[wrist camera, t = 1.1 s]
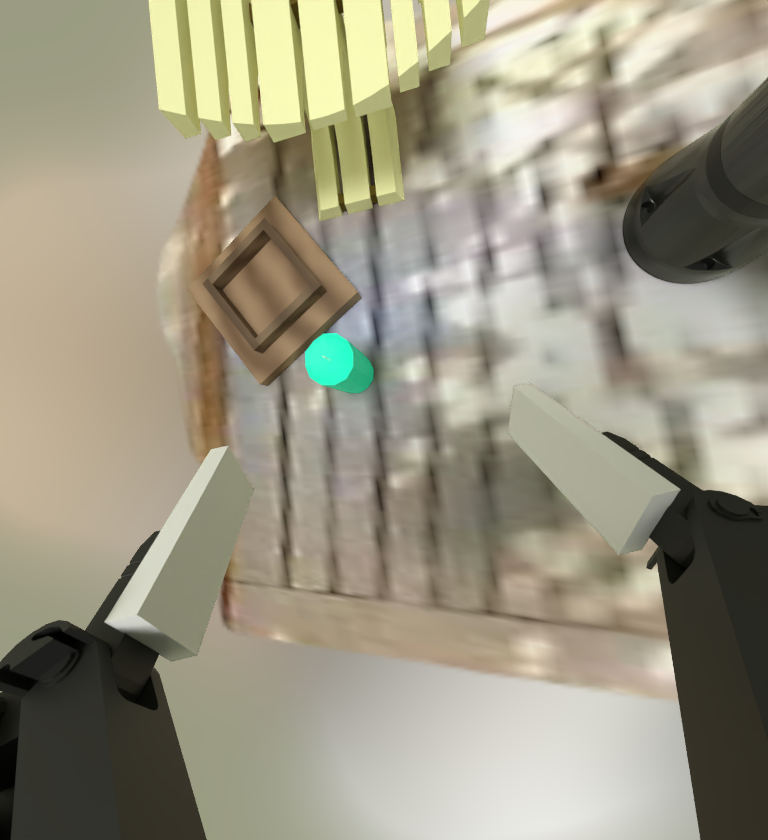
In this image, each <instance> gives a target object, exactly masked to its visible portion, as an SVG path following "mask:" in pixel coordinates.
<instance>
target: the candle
mask: <svg viewBox="0 0 768 840" xmlns="http://www.w3.org/2000/svg"><path fill="white" fill-rule="evenodd" d="M305 366H306V369H307V371H308V374H309V376H310V378H311V379H313V380H314V381H316V382H318V383H319V384H321V385H323V386H327V387H330V388H334V389H337V390H341V391H344V392H348V393H360V392H362V391H364V390H366V389H367V388H368V387H369V385H370V384H371V382H372V381H373V374H374V369H373V367H372V365H371V363H370V361H369V359H368V358H366V357H365V356H364V355H363V354H362V353H361V352H360V351H359V350H358V349H356V348H355V347H354V346H353V345H352V344H351V343H350V342H349V341H347V340H346V339H344V338H343V337H341V336H340V335H338V334H336V333H328V334H322V335H321V336H320V337H318V338H317V339H316V340H314V341H313V342H312V344H311V345H310V346H309V348H308V349H307V350H306V352H305Z"/></svg>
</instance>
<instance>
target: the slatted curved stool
mask: <svg viewBox="0 0 768 840" xmlns="http://www.w3.org/2000/svg"><path fill="white" fill-rule="evenodd" d="M390 1H391V11H392V20H393V29H394V39H395V49H396V58H397V68H398V78H399V87H400V93H401V92H404V91H407V90H410V89H413V88H416V87H419V64H418V53H417V43H416V34H415V24H414V14H413V5H412V0H390ZM489 1H490V0H456V3H457V11H458V19H459V27H460V36H461V45H462V47H464V46H467V45H470V44H473V43H476V42H479V41H482V40H484V38H485V31H486V23H487V16H488V8H489ZM418 3H421V4H422V12H423V20H424V29H425V38H426V47H427V56H428V65H429V71H431V70H434V69H438V68H441V67H444V66H447V65H450V54H451V33H452V29H451V20H450V10H449V1H448V0H418ZM149 9H150V20H151V30H152V40H153V51H154V60H155V72H156V82H157V92H158V103H159V110H160V111H161V112H162V113H163V114H164V115H165V116H166V117H167V118H168V120H169V121H170V122H171V123H172V124H173V125H174V126H175V128H176V129H177V130H178V131H179V132H180V133H181V134H182V135H183V137H184V138H186V139H187V138H190V137H192V136H196V135H198V134H201V129H200V121H201V122H202V123H203V124H204V126H205V127H206V128H207V130H208V131H209V132H210V133H211V135H212V136H213V137H214V138H215V140H218V139H221V138H224V137H227V136H230V135H231V125H230V111H229V91H230V101H231V111H232V121H233V124H234V126H235V127H236V129H237V130H238V131H239V133H240V134H241V136H242V137H243V139H244V140H245V141H248V140H252V139H255V138H258V137H261V131H260V120H259V106H258V75H259V85H260V95H261V105H262V115H263V125H264V126H265V128H266V130H267V132H268V133H269V135H270V137H271V138H272V140H273V142H274V143H275V142H278V141H281V140H285V139H288V138H291V137H294V136H298V135H301V134H304V133H306V130H305V119H304V110H305V112H306V115H307V118H308V121H309V125H310V129H311V142H312V152H313V162H314V172H315V182H316V192H317V202H318V212H319V221H322V220H326V219H330V218H334V217H338V216H343V213H342V211H345V210H347V211H348V214H351V213H355V212H359V211H363V210H367V209H371V208H373V204H374V203H378V204H379V206H383V205H387V204H392V203H396V202H400V201H404V191H403V182H402V172H401V162H400V153H399V143H398V133H397V124H396V115H395V111H394V107H393V104H392V101H391V92H390V82H389V72H388V62H387V52H386V47H387V43H386V33H385V24H384V14H383V6H382V0H149ZM342 13H344V19H343V16H342ZM344 20H345V24H344ZM366 114H367V118H368V126H369V133H370V141H371V150H372V159H373V168H374V177H375V185H371V184H370V174H369V165H368V155H367V145H366V135H365V126H364V118H363V115H366ZM333 124H334V126H335V131H336V138H337V144H338V151H339V158H340V166H341V175H342V183H343V193H340V183H339V174H338V164H337V154H336V144H335V134H334V127H333Z"/></svg>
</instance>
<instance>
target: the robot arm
mask: <svg viewBox="0 0 768 840" xmlns="http://www.w3.org/2000/svg"><path fill="white" fill-rule="evenodd" d="M623 232H624V239H625V243H626V246H627V249H628V251H629V253H630V255H631V256H632V258H633V259H634V260H635V262H636V263H637V264H638V265H639V266H640V267H641V268H643V269H644V270H645V271H647V272H648V273H650V274H652V275H653V276H655V277H658V278H660V279H663V280H666V281H671V282H677V283H698V282H704V281H709V280H712V279H716V278H718V277H721V276H723V275H725V274H728V273H730V272H732V271H734V270H736V269H738V268H740V267H742V266H744V265H746V264H748V263H750V262H751V261H753V260H754V259H756V258H757V257H759V256H760V255H762V254H763V253H764V252H766V251H767V250H768V78H767V79H766V80H765V81H764V82H763V83H762V84H761V85H760V86H759V87H758V88H757V89H756V90H755V91H754V92H753V93H752V94H751V95H750V96H749V97H748V98H747V99H746V100H745V101H744V102H743V103H742V104H741V105H740V106H739V107H738V108H737V109H736V110H735V111H734V112H733V113H732V114H731V115H730V116H729V117H728V118H727V119H726V120H725V121H724V122H723V123H722V124H720V125H719V126H717V127H716V128H714V129H713V130H711V131H710V132H708V133H707V134H705V135H704V136H702V137H700V138H699V139H697V140H696V141H694V142H693V143H691V144H690V145H688V146H687V147H685V148H684V149H682V150H681V151H679V152H678V153H676V154H675V155H673V156H672V157H670V158H669V159H668V160H666V161H665V162H664V163H663V164H662V165H660V166H659V167H658V168H657V169H656V170H655V171H654V172H653V173H652V174H651V175H650V176H649V178H648V179H647V180H646V181H645V182H644V183H643V184H642V185H641V186H640V188H639V189H638V190H637V191H636V193H635V194H634V196H633V197H632V199H631V201H630V203H629V205H628V207H627V210H626V213H625V218H624V225H623ZM508 434H509V435H510V437H511V438H512V439H513V440H514V441H515V442H516V443H517V444H518V445H519V446H520V447H521V449H522V450H523V451H524V452H525V453H526V454H527V455H528V456H529V457H530V458H531V459H532V461H533V462H534V463H535V464H536V465H537V466H538V467H539V468H540V469H541V470H542V472H543V473H544V474H545V475H546V476H547V477H548V478H549V479H550V480H551V481H552V482H553V484H554V485H555V486H556V487H557V488H558V489H559V490H560V491H561V492H562V493H563V495H564V496H565V497H566V498H567V499H568V500H569V501H570V502H571V503H572V504H573V505H574V507H575V508H576V509H577V510H578V511H579V512H580V513H581V514H582V515H583V516H584V517H585V519H586V520H587V521H588V522H589V523H590V524H591V525H592V526H593V527H594V528H595V530H596V531H597V532H598V533H599V534H600V535H601V536H602V537H603V538H604V539H605V540H606V542H607V543H608V544H609V545H610V546H611V547H612V548H613V549H614V550H615V551H616V553H617V554H618V555H621V554H625V553H629V552H634V551H638V550H642V549H643V547H644V545H645V544H646V542H647V541H648V539H649V538H650V539H651V540H653V541H654V542H655V543H656V544H657V545H658V546H659V547H658V548H657V549H656V551H655V552H654V554H653V555H652V557H651V558H650V560H649V561H648V563H647V568H648V569H650V570H651V569H652V568H653V567H654V565H655V564H656V563H657V565H658V572H659V577H660V584H661V590H662V597H663V603H664V609H665V616H666V622H667V629H668V635H669V641H670V648H671V654H672V660H673V667H674V673H675V680H676V686H677V692H678V699H679V705H680V711H681V718H682V724H683V731H684V737H685V743H686V750H687V756H688V763H689V769H690V775H691V782H692V788H693V794H694V801H695V807H696V813H697V819H698V826H699V833H700V839H701V840H768V506H759V505H754V504H752V503H751V502H749V501H746V500H744V499H742V498H740V497H738V496H735V495H732V494H729V493H725V492H721V491H713V490H706V491H703V490H701V489H699V488H698V487H696V486H695V485H693V484H692V483H690V482H689V481H687V480H686V479H684V478H683V477H681V476H680V475H678V474H677V473H675V472H674V471H672V470H671V469H669V468H668V467H666V466H665V465H663V464H662V463H660V462H659V461H657V460H656V459H654V458H651V457H650V455H648V454H647V453H645V452H644V451H642V450H639V448H638V447H636V446H635V445H633V444H632V443H630V442H629V441H627V440H626V439H624V438H622V437H619V436H617V435H614V434H612V433H609V432H603V433H600V432H599V431H597V430H596V429H594V428H593V427H592V426H590V425H589V424H587V423H586V422H585V421H583V420H582V419H580V418H579V417H577V416H576V415H575V414H573V413H572V412H570V411H569V410H568V409H566V408H565V407H563V406H562V405H560V404H559V403H558V402H556V401H555V400H553V399H552V398H551V397H549V396H548V395H546V394H545V393H544V392H542V391H541V390H539V389H538V388H536V387H535V386H534V385H532V384H531V383H526V384H521V385H516V386H514V387H513V396H512V404H511V412H510V421H509V429H508ZM253 490H254V488H253V486H252V484H251V483H250V481H249V479H248V478H247V476H246V474H245V473H244V471H243V469H242V468H241V466H240V464H239V463H238V461H237V459H236V458H235V456H234V454H233V453H232V451H231V449H230V448H229V446H225V447H221V448H216V449H211V450H210V452H209V454H208V455H207V457H206V458H205V460H204V462H203V463H202V465H201V467H200V468H199V470H198V471H197V473H196V475H195V476H194V478H193V479H192V481H191V483H190V484H189V486H188V488H187V489H186V491H185V492H184V494H183V496H182V497H181V499H180V501H179V502H178V504H177V505H176V507H175V509H174V510H173V512H172V513H171V515H170V517H169V518H168V520H167V522H166V523H165V525H164V527H163V528H162V530H161V531H156V532H154V533H153V534H152V535H151V536H150V537H149V538H148V539H147V540H146V541H145V542H144V543H143V544H142V545H141V546H140V548H139V549H138V550H137V552H136V553H135V555H134V556H133V558H132V560H131V561H130V565H128V566H127V567H126V569H125V570H124V572H123V573H122V575H121V579H118V581H117V583H116V584H115V586H114V587H113V589H112V590H111V592H110V593H109V595H108V596H107V598H106V599H105V601H104V602H103V604H102V605H101V607H100V608H99V610H98V612H97V613H96V615H95V616H94V618H93V619H92V621H91V622H90V624H89V625H88V627H87V628H86V630H85V631H84V630H82V629H81V628H78V627H77V626H75V625H73V624H71V623H69V622H67V621H61V620H58V621H55V622H52V623H49V624H46V625H45V626H43V627H41V628H40V629H38V630H36V631H34V632H32V633H31V634H30V635H29V636H27V637H26V638H25V639H23V640H22V641H21V642H20V643H19V644H17V645H16V646H15V647H14V648H13V649H12V650H11V651H10V652H9V653H8V654H7V655H6V656H5V657H4V658H3V659H2V661H1V662H0V691H3V692H1V693H0V840H207V839H206V836H205V832H204V829H203V826H202V822H201V818H200V815H199V812H198V808H197V804H196V801H195V797H194V794H193V790H192V787H191V783H190V780H189V777H188V773H187V769H186V766H185V762H184V759H183V756H182V752H181V748H180V745H179V742H178V738H177V735H176V731H175V727H174V724H173V721H172V717H171V714H170V710H169V706H168V703H167V699H166V696H165V692H164V689H163V685H162V682H161V678H160V675H159V673H158V672H157V670H156V669H155V668H153V667H154V665H155V662H156V660H157V658H158V655H161V656H163V657H164V658H166V659H168V660H170V661H175V660H180V659H184V658H188V657H192V656H197V655H198V652H199V649H200V646H201V643H202V640H203V637H204V634H205V631H206V628H207V625H208V622H209V619H210V617H211V614H212V611H213V608H214V605H215V602H216V599H217V596H218V593H219V590H220V587H221V584H222V581H223V579H224V576H225V573H226V570H227V567H228V564H229V561H230V558H231V555H232V552H233V549H234V546H235V543H236V540H237V537H238V534H239V532H240V529H241V526H242V523H243V520H244V517H245V514H246V511H247V508H248V505H249V502H250V499H251V496H252V493H253Z"/></svg>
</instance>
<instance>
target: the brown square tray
mask: <svg viewBox="0 0 768 840" xmlns="http://www.w3.org/2000/svg"><path fill="white" fill-rule="evenodd" d="M188 291H189V292H190V294H191V295H192V296H193V298H194V299H195V300H196V302H197V303H198V304H199V305H200V307H201V308H202V309H203V311H204V312H205V313H206V315H207V316H208V317H209V318H210V320H211V321H212V322H213V324H214V325H215V326H216V328H217V329H218V330H219V331H220V333H221V334H222V335H223V337H224V338H225V339H226V341H227V342H228V343H229V344H230V346H231V347H232V348H233V350H234V351H235V352H236V354H237V355H238V356H239V357H240V359H241V360H242V361H243V363H244V364H245V365H246V367H247V368H248V369H249V370H250V372H251V373H252V374H253V376H254V377H255V378H256V380H257V381H258V382H259V383H260V384H261V385H267V386H268V385H269V384H270V383H271V382H272V381H273V380H275V379H276V378H277V377H278V376H279V375H280V374H281V373H282V372H283V371H284V370H285V369H286V368H287V367H288V366H289V365H290V364H292V363H293V362H294V361H295V360H296V359H297V358H298V357H299V356H300V355H301V354H302V353H303V352H304V351H305V350H306V349H307V348H309V346H310V345H311V344H312V342H313V341H314V340H316V339H317V338H318V337H320V336H321V335H322V334H323V333H324V332H326V331H327V330H328V329H329V328H330V327H331V326H332V325H333V324H334V323H335V322H336V321H337V320H338V319H339V318H340V317H342V316H343V315H344V314H345V313H346V312H347V311H348V310H349V309H350V308H351V307H352V306H353V305H354V304H355V303H356V302H357V301H359V300H360V299H361V297H360V295H359V293H358V292H357V291H356V289H355V288H354V287H353V286H352V285H351V284H350V282H349V281H348V280H347V279H346V278H345V277H344V275H343V274H342V273H341V272H340V271H339V270H338V268H337V267H336V266H335V265H334V264H333V263H332V261H331V260H330V259H329V258H328V257H327V256H326V254H325V253H324V252H323V251H322V250H321V249H320V247H319V246H318V245H317V244H316V243H315V242H314V240H313V239H312V238H311V237H310V236H309V235H308V233H307V232H306V231H305V230H304V229H303V228H302V226H301V225H300V224H299V223H298V222H297V221H296V219H295V218H294V217H293V216H292V215H291V214H290V212H289V211H288V210H287V209H286V208H285V207H284V205H283V204H282V203H281V202H280V201H279V200H278V199H277V197H276V196H274V197H273V198H272V199H271V200H270V201H269V202H268V204H267V205H266V206H265V207H264V208H263V209H262V210H261V211H260V212H259V213H258V214H257V215H256V216H255V218H254V219H253V220H252V221H251V222H250V223H249V224H248V225H247V226H246V227H245V228H244V229H243V230H242V232H241V233H240V234H239V235H238V236H237V237H236V238H235V239H234V240H233V241H232V242H231V243H230V244H229V246H228V247H227V248H226V249H225V250H224V251H223V252H222V253H221V254H220V255H219V256H218V257H217V258H216V260H215V261H214V262H213V263H212V264H211V265H210V266H209V267H208V268H207V269H206V270H205V271H204V272H203V274H202V275H201V276H200V277H199V278H198V279H197V280H196V281H195V282H194V283H193V284H192V285H191V286H190V288H189V289H188Z"/></svg>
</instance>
